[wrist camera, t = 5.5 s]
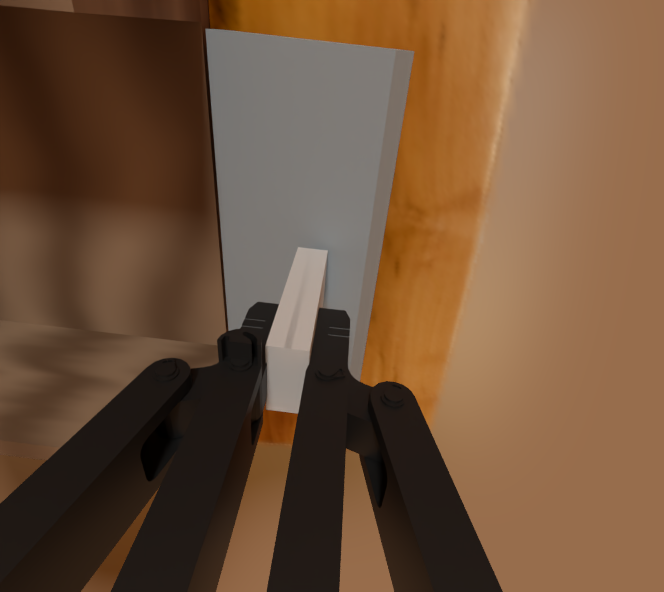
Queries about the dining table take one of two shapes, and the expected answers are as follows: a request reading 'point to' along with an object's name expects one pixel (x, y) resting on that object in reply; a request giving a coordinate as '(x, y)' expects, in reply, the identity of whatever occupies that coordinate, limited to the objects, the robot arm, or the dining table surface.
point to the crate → (102, 207)
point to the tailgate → (304, 165)
